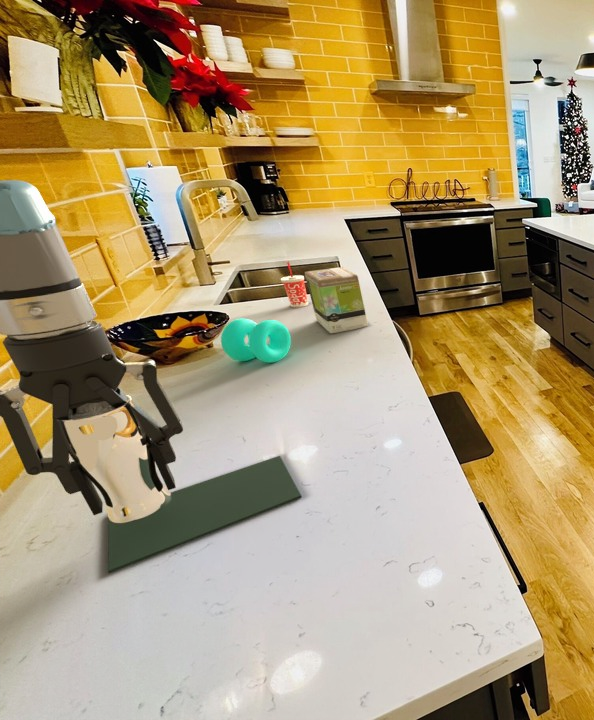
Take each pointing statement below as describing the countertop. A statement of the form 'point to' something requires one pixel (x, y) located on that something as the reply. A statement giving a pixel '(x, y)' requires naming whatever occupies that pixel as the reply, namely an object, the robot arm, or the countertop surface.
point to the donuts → (256, 340)
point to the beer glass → (116, 459)
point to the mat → (202, 511)
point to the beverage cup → (295, 289)
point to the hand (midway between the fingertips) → (135, 495)
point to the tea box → (336, 299)
